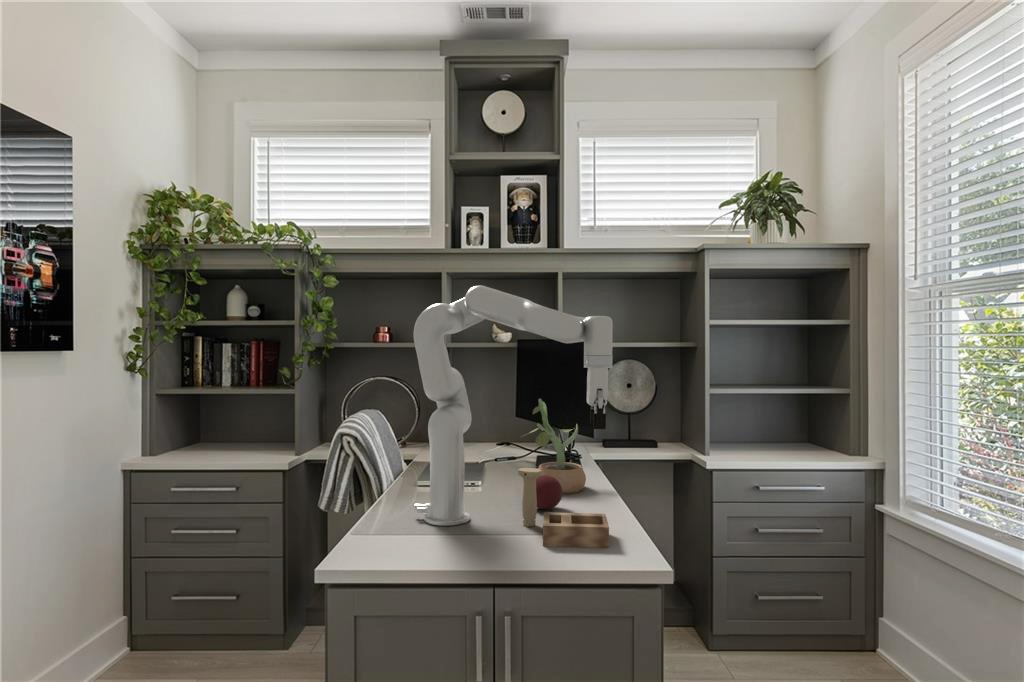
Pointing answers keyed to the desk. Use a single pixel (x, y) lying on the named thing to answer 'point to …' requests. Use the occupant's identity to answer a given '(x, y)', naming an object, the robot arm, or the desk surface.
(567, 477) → the potted plant
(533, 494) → the handle
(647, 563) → the desk surface
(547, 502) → the decorative ball
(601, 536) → the wooden shelf
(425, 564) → the desk surface
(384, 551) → the desk surface
